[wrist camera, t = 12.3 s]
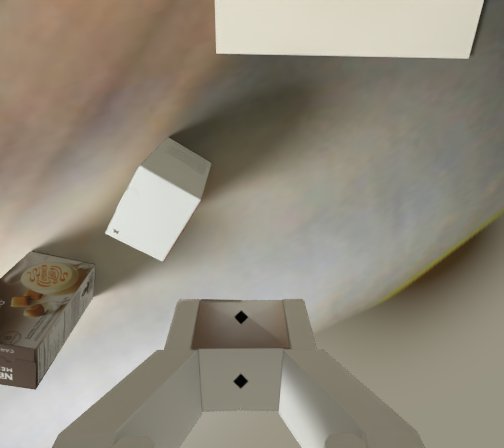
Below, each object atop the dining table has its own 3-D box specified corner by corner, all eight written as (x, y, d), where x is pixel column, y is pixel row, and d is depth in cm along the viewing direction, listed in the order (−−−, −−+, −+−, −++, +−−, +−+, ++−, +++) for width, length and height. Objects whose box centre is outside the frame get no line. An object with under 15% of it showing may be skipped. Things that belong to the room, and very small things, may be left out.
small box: (183, 212, 45) (162, 264, 33) (140, 188, 44) (101, 234, 32) (213, 162, 42) (202, 199, 30) (168, 135, 41) (138, 163, 29)
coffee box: (30, 286, 50) (-58, 378, 35) (30, 249, 47) (-66, 332, 32) (94, 298, 51) (35, 391, 36) (97, 263, 48) (34, 348, 34)
